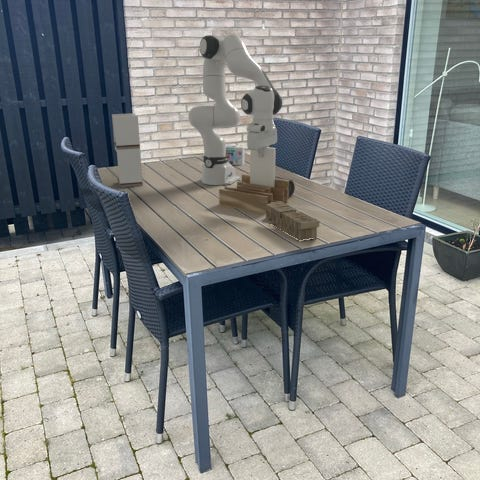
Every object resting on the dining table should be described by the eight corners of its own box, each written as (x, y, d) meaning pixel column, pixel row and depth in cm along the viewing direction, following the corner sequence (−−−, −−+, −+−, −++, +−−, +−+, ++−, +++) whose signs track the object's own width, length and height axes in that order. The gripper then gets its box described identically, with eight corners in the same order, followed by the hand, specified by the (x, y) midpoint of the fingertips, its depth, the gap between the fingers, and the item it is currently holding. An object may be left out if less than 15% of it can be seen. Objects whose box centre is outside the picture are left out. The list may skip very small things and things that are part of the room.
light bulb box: (225, 164, 312) (225, 146, 309) (227, 162, 319) (227, 144, 315) (242, 165, 311) (242, 147, 307) (244, 163, 317) (244, 145, 313)
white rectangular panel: (251, 188, 239) (252, 145, 232) (274, 192, 233) (275, 148, 226) (250, 189, 238) (250, 145, 231) (272, 193, 232) (273, 148, 225)
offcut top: (244, 188, 235) (244, 183, 235) (270, 193, 228) (270, 187, 227) (236, 191, 231) (236, 186, 230) (263, 196, 223) (263, 190, 222)
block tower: (264, 223, 214) (300, 244, 188) (264, 203, 211) (300, 221, 186) (281, 220, 217) (319, 240, 191) (281, 200, 214) (319, 218, 189)
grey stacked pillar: (139, 180, 276) (134, 113, 263) (142, 185, 266) (137, 116, 254) (117, 182, 272) (111, 114, 260) (120, 187, 263) (114, 117, 251)
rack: (243, 197, 245) (243, 173, 241) (288, 205, 233) (288, 180, 229) (218, 208, 229) (218, 182, 225) (265, 217, 217) (266, 190, 213)
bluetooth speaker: (246, 193, 253) (246, 173, 249) (258, 189, 259) (258, 169, 255) (282, 202, 238) (283, 180, 235) (295, 198, 244) (295, 177, 241)
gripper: (268, 121, 235) (268, 151, 240) (244, 127, 219) (244, 160, 224) (281, 122, 231) (280, 153, 236) (257, 129, 215) (257, 161, 220)
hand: (262, 156), depth 230 cm, fingers closed on white rectangular panel, 2 cm apart
